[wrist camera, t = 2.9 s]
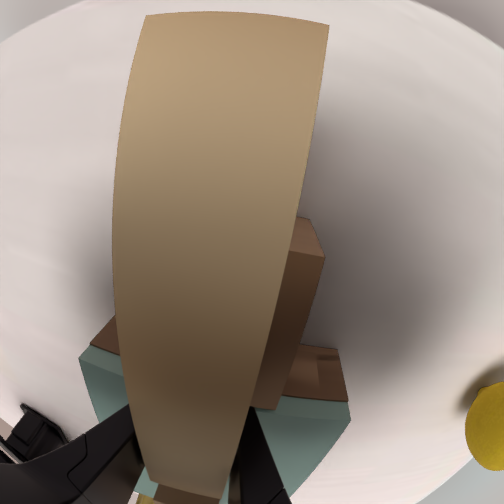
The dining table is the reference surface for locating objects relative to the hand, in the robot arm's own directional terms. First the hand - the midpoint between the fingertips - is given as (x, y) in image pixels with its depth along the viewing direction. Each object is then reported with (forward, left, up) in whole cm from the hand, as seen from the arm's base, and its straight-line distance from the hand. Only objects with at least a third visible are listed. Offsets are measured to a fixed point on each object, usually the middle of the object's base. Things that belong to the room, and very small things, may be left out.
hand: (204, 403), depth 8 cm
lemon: (-3, -19, -5) cm, 20 cm away
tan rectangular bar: (+4, 0, 0) cm, 4 cm away
